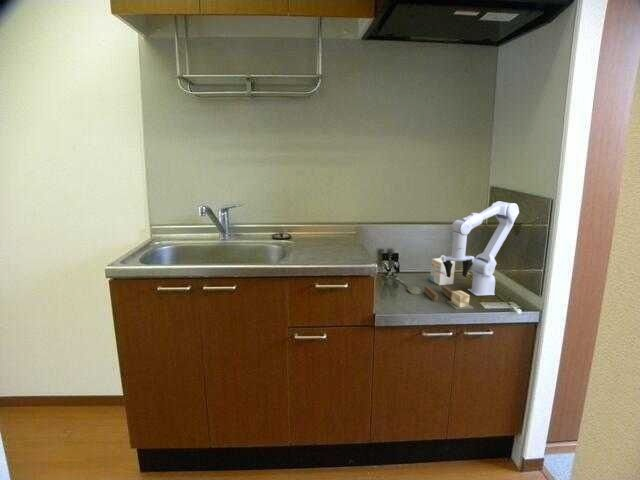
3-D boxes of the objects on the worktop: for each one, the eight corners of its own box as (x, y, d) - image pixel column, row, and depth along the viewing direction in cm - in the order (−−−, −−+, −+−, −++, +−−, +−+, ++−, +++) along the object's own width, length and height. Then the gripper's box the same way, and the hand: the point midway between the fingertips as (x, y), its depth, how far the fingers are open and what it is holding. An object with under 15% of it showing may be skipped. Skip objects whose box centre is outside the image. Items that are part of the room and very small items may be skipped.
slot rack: (444, 291, 185) (445, 285, 185) (455, 300, 175) (456, 293, 174) (424, 292, 184) (424, 286, 183) (434, 301, 173) (434, 294, 173)
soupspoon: (411, 297, 181) (424, 296, 183) (412, 290, 180) (425, 289, 182) (391, 280, 202) (402, 280, 203) (391, 274, 201) (403, 274, 203)
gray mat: (464, 301, 173) (464, 300, 173) (473, 308, 166) (473, 307, 165) (447, 302, 172) (447, 301, 172) (455, 309, 164) (455, 308, 164)
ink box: (429, 280, 202) (431, 254, 200) (443, 278, 205) (445, 253, 202) (439, 285, 194) (441, 259, 191) (453, 284, 197) (456, 258, 194)
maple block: (459, 301, 172) (460, 290, 171) (468, 306, 167) (469, 295, 166) (451, 302, 171) (452, 291, 170) (459, 307, 166) (460, 296, 164)
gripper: (469, 244, 180) (466, 273, 183) (439, 245, 178) (437, 274, 181) (477, 248, 173) (474, 278, 176) (446, 249, 171) (444, 279, 174)
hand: (456, 276), depth 178 cm, fingers open, 7 cm apart
